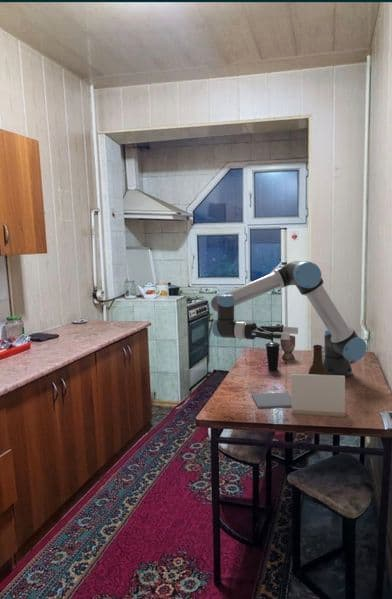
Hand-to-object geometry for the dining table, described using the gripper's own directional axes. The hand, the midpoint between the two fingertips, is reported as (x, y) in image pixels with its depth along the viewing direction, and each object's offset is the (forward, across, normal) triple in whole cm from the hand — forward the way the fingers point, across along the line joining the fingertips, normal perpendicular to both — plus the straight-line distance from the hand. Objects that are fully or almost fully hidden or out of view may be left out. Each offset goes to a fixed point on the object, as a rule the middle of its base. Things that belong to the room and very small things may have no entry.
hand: (293, 333), depth 193 cm
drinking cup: (-22, -42, -29) cm, 55 cm away
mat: (-7, +6, -28) cm, 30 cm away
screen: (+13, +12, -28) cm, 34 cm away
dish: (+2, -76, -29) cm, 81 cm away
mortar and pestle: (-23, -68, -28) cm, 77 cm away
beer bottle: (+10, 0, -29) cm, 30 cm away
